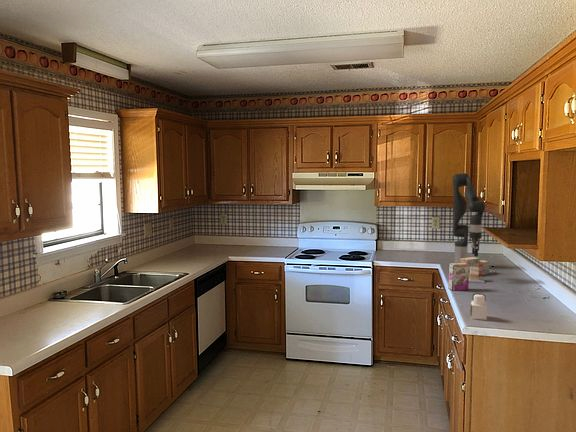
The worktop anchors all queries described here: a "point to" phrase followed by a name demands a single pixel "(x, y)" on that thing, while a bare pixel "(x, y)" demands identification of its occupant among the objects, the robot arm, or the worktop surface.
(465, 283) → the candy bar box
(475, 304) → the medicine bottle
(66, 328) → the worktop surface
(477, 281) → the base plate
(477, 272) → the cream and brown block
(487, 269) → the stack of blocks
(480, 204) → the robot arm
